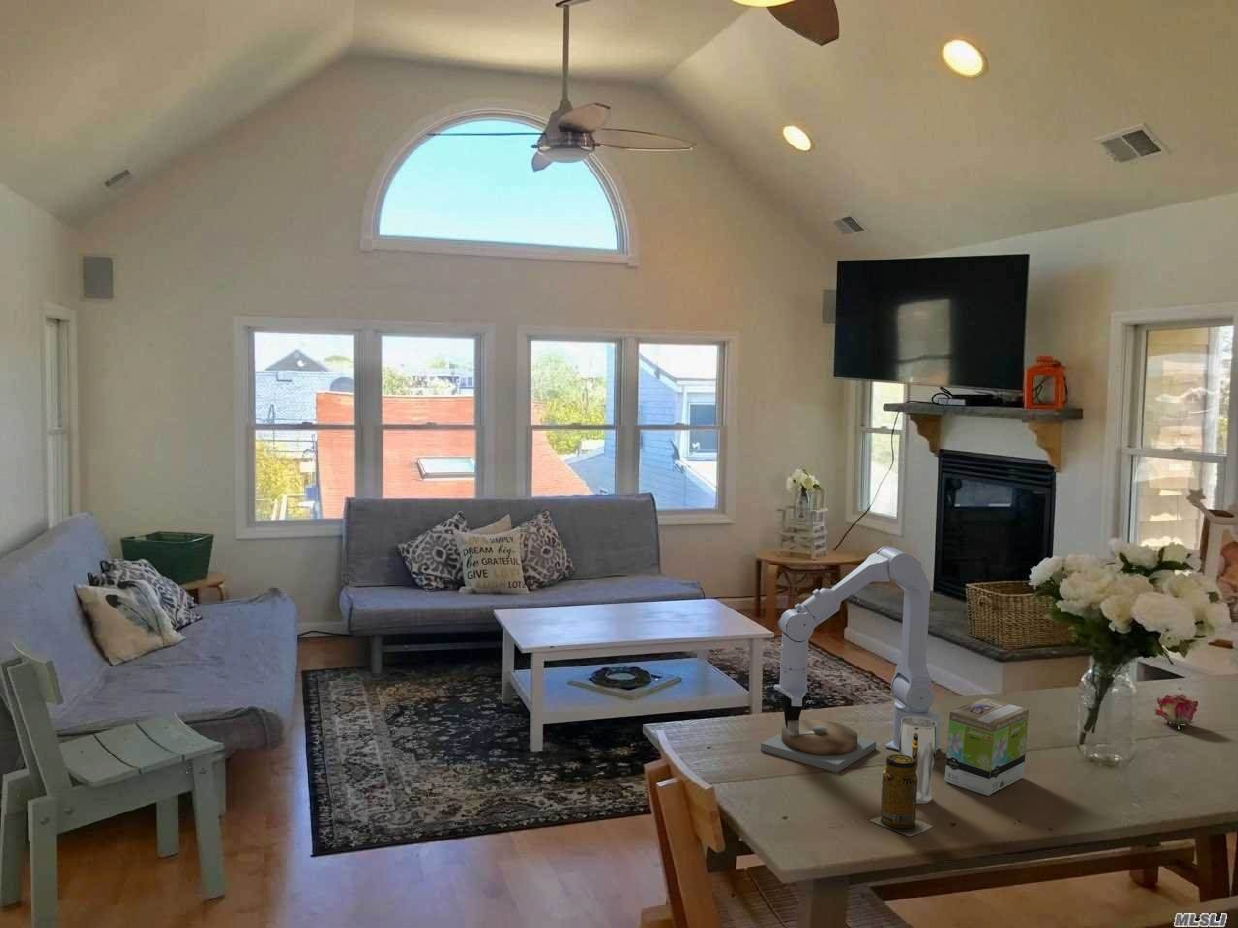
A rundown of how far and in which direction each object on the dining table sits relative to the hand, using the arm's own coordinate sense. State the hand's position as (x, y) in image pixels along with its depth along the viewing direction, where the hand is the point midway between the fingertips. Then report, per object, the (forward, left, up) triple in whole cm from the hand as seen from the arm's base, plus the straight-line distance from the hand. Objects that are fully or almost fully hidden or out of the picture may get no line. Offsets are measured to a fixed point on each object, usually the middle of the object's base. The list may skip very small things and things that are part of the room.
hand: (791, 728), depth 221 cm
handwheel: (-5, -4, -3) cm, 7 cm away
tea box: (-38, -12, -5) cm, 40 cm away
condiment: (-34, +19, -5) cm, 39 cm away
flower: (-60, -76, -5) cm, 97 cm away
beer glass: (-31, +6, -5) cm, 31 cm away
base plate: (-5, -4, -5) cm, 8 cm away
